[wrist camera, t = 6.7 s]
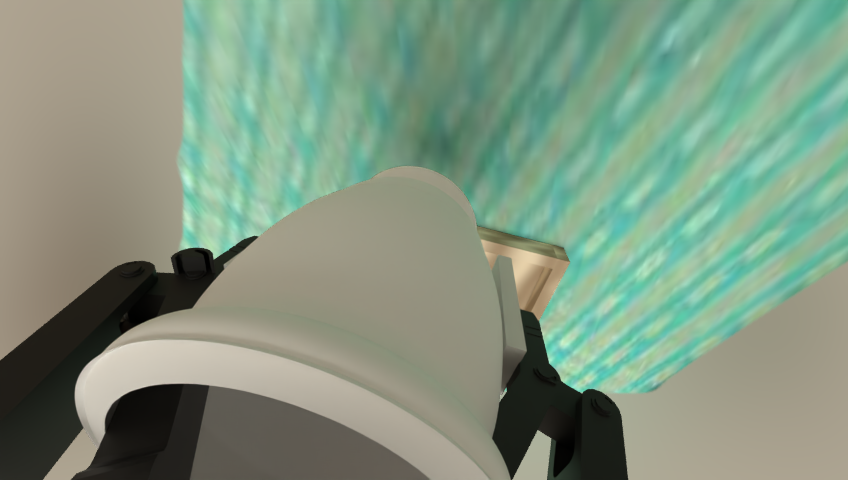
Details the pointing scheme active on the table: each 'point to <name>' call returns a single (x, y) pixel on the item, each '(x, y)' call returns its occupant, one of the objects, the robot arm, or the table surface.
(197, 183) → the table surface
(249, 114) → the table surface
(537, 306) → the wooden tray
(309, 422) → the jar
